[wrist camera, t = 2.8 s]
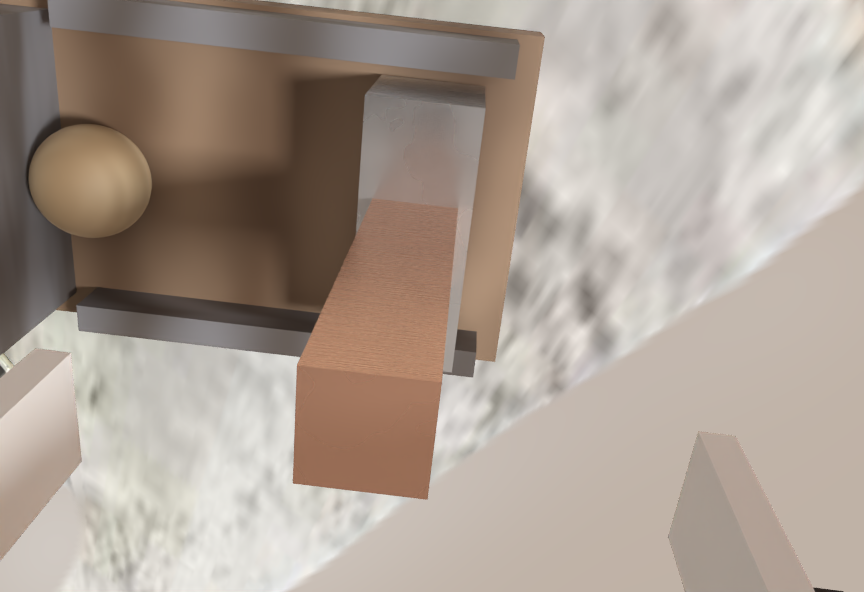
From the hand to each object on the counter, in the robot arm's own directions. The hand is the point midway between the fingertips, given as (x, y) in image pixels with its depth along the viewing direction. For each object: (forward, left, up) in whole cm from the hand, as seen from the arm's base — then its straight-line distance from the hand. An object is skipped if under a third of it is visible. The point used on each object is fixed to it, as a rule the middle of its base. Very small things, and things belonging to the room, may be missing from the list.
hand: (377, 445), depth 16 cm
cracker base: (-7, 0, -19) cm, 21 cm away
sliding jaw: (0, 0, -17) cm, 17 cm away
